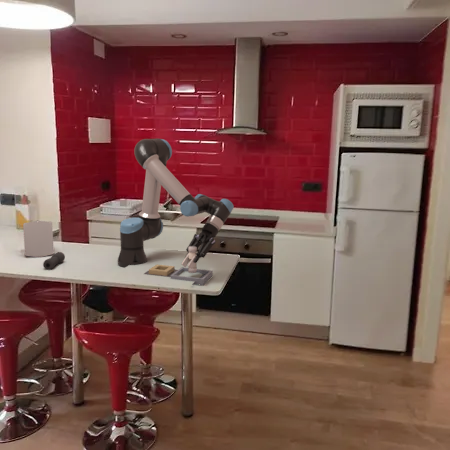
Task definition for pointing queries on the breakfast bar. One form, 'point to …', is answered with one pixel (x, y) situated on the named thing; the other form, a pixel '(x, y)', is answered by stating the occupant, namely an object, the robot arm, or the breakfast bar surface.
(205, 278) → the grey rectangular frame
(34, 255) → the electrical switch box
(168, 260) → the breakfast bar surface
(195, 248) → the fuse
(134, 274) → the breakfast bar surface
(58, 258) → the flashlight
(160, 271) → the yellow rectangular tray
